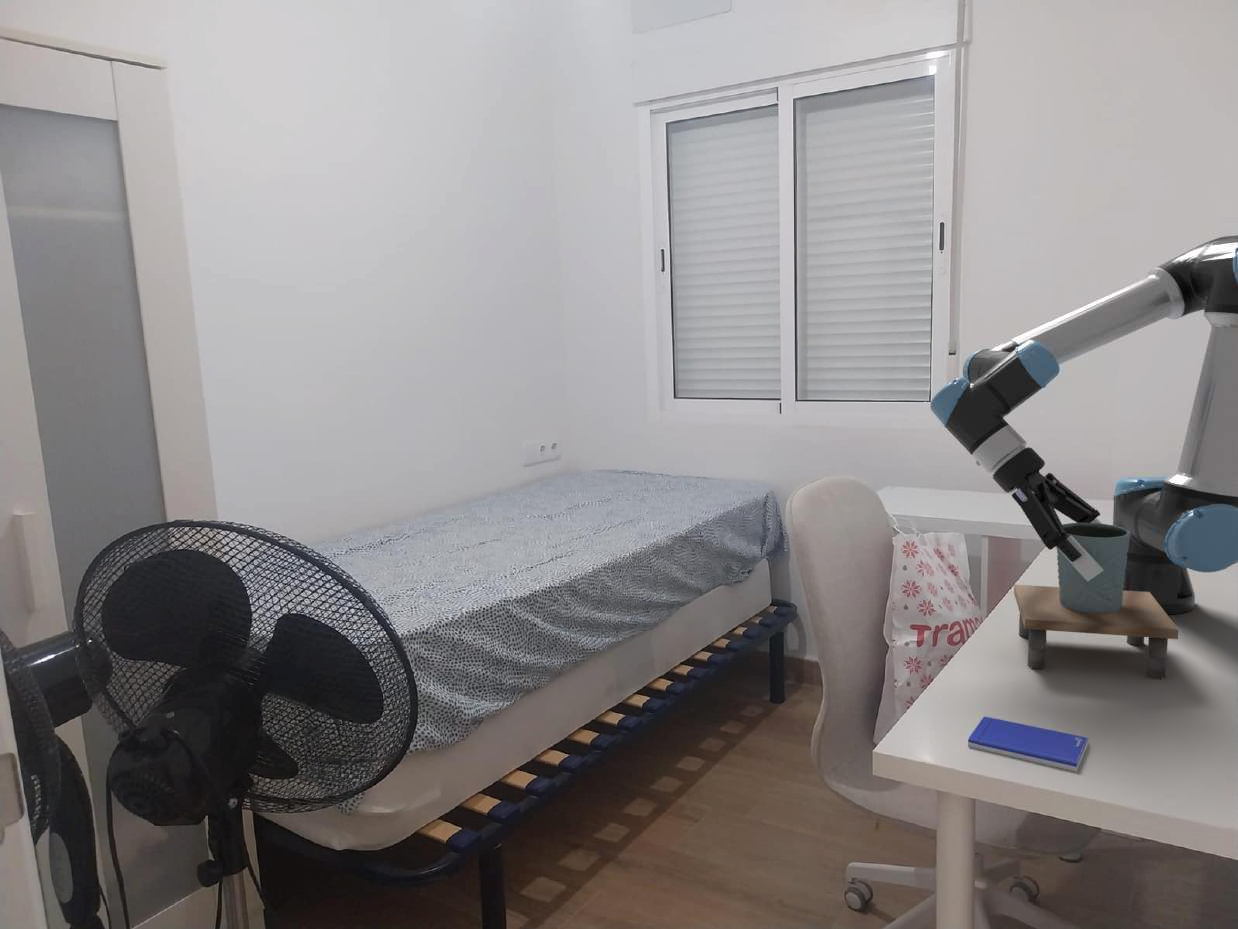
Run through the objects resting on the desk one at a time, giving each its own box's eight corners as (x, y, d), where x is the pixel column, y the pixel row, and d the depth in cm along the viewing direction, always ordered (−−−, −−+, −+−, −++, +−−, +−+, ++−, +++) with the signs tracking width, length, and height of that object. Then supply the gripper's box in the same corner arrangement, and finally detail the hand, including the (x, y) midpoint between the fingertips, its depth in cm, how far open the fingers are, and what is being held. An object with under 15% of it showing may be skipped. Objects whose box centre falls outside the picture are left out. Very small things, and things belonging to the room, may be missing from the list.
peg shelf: (1146, 639, 147) (1149, 591, 146) (1175, 682, 130) (1178, 629, 129) (1012, 630, 154) (1014, 584, 152) (1023, 670, 137) (1025, 619, 135)
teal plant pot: (1135, 616, 135) (1140, 538, 133) (1061, 614, 137) (1065, 536, 135) (1113, 595, 145) (1117, 522, 143) (1044, 593, 147) (1048, 521, 145)
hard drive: (1088, 736, 113) (984, 714, 120) (1077, 763, 107) (967, 738, 114) (1088, 748, 113) (984, 725, 121) (1076, 775, 107) (967, 750, 114)
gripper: (1018, 464, 157) (1109, 561, 149) (962, 487, 139) (1064, 599, 131) (1051, 435, 153) (1147, 534, 145) (999, 456, 134) (1106, 570, 127)
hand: (1108, 565), depth 138 cm, fingers open, 13 cm apart
